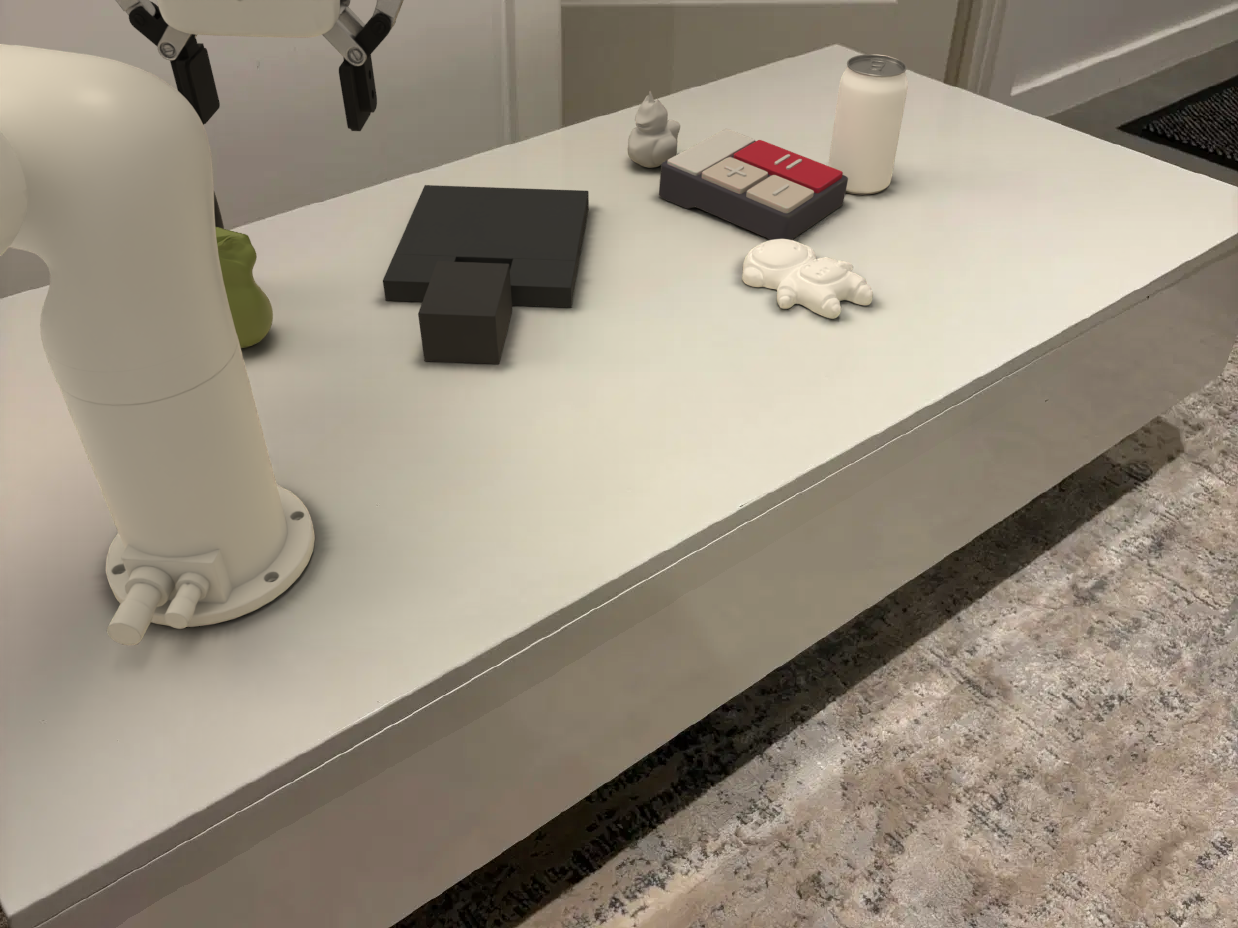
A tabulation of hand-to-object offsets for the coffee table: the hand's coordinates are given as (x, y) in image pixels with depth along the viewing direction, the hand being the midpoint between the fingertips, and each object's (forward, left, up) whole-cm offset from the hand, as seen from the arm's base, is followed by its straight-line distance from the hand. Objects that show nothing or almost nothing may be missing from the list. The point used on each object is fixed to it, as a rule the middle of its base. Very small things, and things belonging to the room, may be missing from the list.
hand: (283, 120), depth 67 cm
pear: (+8, +10, -22) cm, 26 cm away
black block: (+12, -8, -22) cm, 27 cm away
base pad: (+24, -8, -22) cm, 34 cm away
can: (+41, -43, -22) cm, 64 cm away
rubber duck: (+44, -22, -22) cm, 54 cm away
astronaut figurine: (+20, -36, -22) cm, 47 cm away
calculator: (+36, -32, -22) cm, 53 cm away
